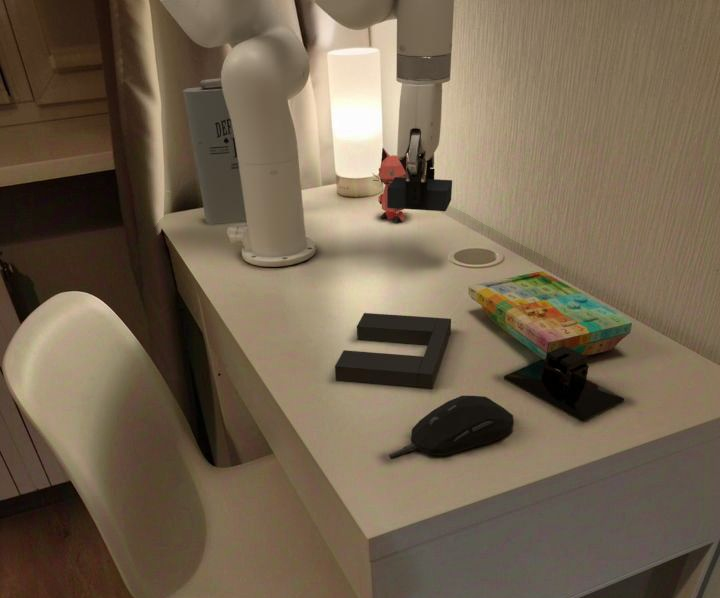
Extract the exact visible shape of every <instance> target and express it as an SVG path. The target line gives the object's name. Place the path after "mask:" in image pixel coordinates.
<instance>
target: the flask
mask: <svg viewBox="0 0 720 598" xmlns="http://www.w3.org/2000/svg"><path fill="white" fill-rule="evenodd" d="M221 73H222V71H220V74H221ZM213 84H214V85H213ZM215 84H222V83H221V77H218V78H211V79H209V78H208V79H202V80H201V81H200V83H199V85H200V87H199V86H198V87H188V88H184V89H183V90H182V94H183V99H184V104H185V105H184V106H185V108H186V115H187V122H188V126H189V132H190V138H191V143H192V148H193V149H192V150H193V156H194V160H195V166H196V172H197V178H198V185H199V189H200V195H201V200H202V207H203V212H204V218H205V222H206V224H214V225H215V224H216V225H217V224H228V223H229V224H230V223H239V222H247V220H246V213H245V206H244V199H243V191H242V184H241V177H240V170H239V163H238V158H237V151H236V144H235V138H234V132H233V127H232V123H231V119H230V115H229V111H228V108H227V105H226V102H225V98H224V94H223V90H222V85H216V86H215ZM207 85H213V86H207Z"/></svg>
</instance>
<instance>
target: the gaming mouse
mask: <svg viewBox="0 0 720 598" xmlns="http://www.w3.org/2000/svg"><path fill="white" fill-rule="evenodd" d="M514 423H515V420H514V414H512V413H511V412H509V411H508V410H507V409H506V408H505V407H503V406H502V405H500V404H498V403H497V402H495V401H493V400H492V399H490V398H488V397H487V396H483V395H482V396H481V395H459V396H457V397H455V398H452V399H450V400H448V401H446V402H444V403H443V404H441V405H440V406H438V407H436V408H434V409H433V410H431V411H430V412H429V413H427V414H426V415H425V416H423V417H422V418H421V419H420V420H419V421H418V422H417V423H416V424H415V425H414V427H413V428H412V429H411V433H410V434H411V435H410V442H411V443H410V444H407V445H406V446H403V448H401V449H399V450H397V451H394V452H392V453H390V454H388V457H389V458H390V459H392V458H394V457H397V456H399V455H402V454H403V453H404V454H405V453H409V452H411V451H414V450H415V449H416V448H417V449H418V451H420V452H423V453H426V454H429V455H431V456H446V455H447V456H448V455H451V454H454V453H459V452H462V451H465V450H468V449H471V448H474V447H477V446H482V445H486V444H488V443H492V442H495V441H497V440H500V439H501V438H503V437H504V436H505V435H507V434H509V433H510V432H511V431H512V429H513V427H514Z"/></svg>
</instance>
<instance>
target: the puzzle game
mask: <svg viewBox="0 0 720 598" xmlns="http://www.w3.org/2000/svg"><path fill="white" fill-rule="evenodd" d="M468 295H469V297H470V298H471V299H472V300H473V301H474V302H476V303H477V304H479V305H480V306H481V307H482V309H483V312H484V313H485V315H486V317H488V319H489V320H490V321H491V322H492V323H494V324H495V325H496V326H498V327H499V328H500V329H502V330H503V331H504V332H506V333H507V334H509V335H510V336H511V337H512V338H514V339H515V340H516V341H518V342H519V343H521V344H522V345H524V346H525V347H526V348H527V349H529V350H530V351H531V352H533V353H534V354H535V355H536V356H538V357H539V358H540V359H543V360H544V359H546V354H547V353H548V352H551V351H553V350H555V349H557V348H560V347H562V346H566V347H568V348H570V349H572V350H574V351H576V352H578V353H580V354H582V355H585V356H587V357H588V356H592V355H595V354H600V353H604V352H607V351H611V350H613V349H614V348H615V347H616V346H617V345H618V344H619V343H620V342H622V340H623V339H625V338H626V337H627V336H628V335H630V334H631V331H632V326H633V323H632V322H631V321H630V320H629V318H628V317H626V316H625V315H622V314H620V313H619V312H617V311H615V310H613V309H612V308H610V307H608V306H606V305H604V304H603V303H601V302H599V301H597V300H595V299H594V298H592V297H590V296H588V295H586V294H585V293H582V292H581V291H579V290H578V289H575V288H574V287H572V286H570V285H568V284H566V283H564V282H563V281H561V280H559V279H557V278H556V277H554V276H552V275H549V274H548V273H546V272H545V271H543V270H539V271H536V272H531V273H526V274H521V275H516V276H512V277H511V276H510V277H507V278H502V279H497V280H492V281H487V282H481V283H477V284H472V285H469V286H468Z"/></svg>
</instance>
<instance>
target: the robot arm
mask: <svg viewBox="0 0 720 598" xmlns="http://www.w3.org/2000/svg"><path fill="white" fill-rule="evenodd" d="M311 1H312V2H313V3H314V4H316V5H317V6H318V7H319V9H321V10H322V11H323V12H324V13H325V14H327V15H328V16H329V17H330V18H331V19H332V20H334V21H335V22H336V23H338V24H339V25H340V26H343V27H345V28H346V29H349V30H353V31H362V30H366V29H369V28H371V27H373V26H375V25H377V24H381V23H383V22H387V21H392V20H396V76H395V77H396V78H395V79H396V82H398V83H401V87H400V96H399V109H398V124H397V125H398V126H397V128H398V129H397V146H396V147H397V150H396V156H397V157H398V158H399V159H400V160H402V159H403V158H404V157H405V156H406V154H407V172H406V187H405V207H406V208H409V209H408V210H413V209H425V208H426V207H427V184H428V181H425V180H426V179H435V171H436V170H435V152H436V151H437V150H438V147H439V145H440V138H441V129H442V128H441V126H442V111H443V110H442V108H443V84H444V83H445V84H446V83H448V82H450V81H451V71H452V70H451V68H452V53H453V52H452V50H453V30H454V29H453V28H454V12H455V10H454V9H455V0H311ZM159 2H161V4H162V5H163V6H164V8H165V9H166V10H167V12H168V13H169V14H170V15H171V17H172V18H173V19H174V20H175V22H176V23H177V24H178V25H179V27H180V28H181V29H182V30H183V32H184V33H185V35H186V36H188V38H190V40H191V41H192V42H193V43H194V44H197V45H198V46H200V47H202V48H207V49H210V48H211V49H212V48H213V49H214V48H217V47H221V46H225V45H227V44H228V46H230V48H231V49H230V50H229V52H228V53H227V55H226V56H225V59H224V61H223V63H222V67H221V72H222V73H221V72H220V78H221V83H220V84H221V86H222V90H223V94H224V98H225V102H226V105H227V108H228V111H229V115H230V119H231V123H232V127H233V132H234V138H235V144H236V151H237V158H238V163H239V170H240V177H241V184H242V191H243V199H244V206H245V213H246V220H247V221H246V224H247V225H245V226H244V227H240V226H228V227H227V230H226V234H227V237H228V241H229V242H230V243H242V244H243V245H244V246H243V247H242V249H241V256H242V259H243V260H244V261H245V262H247V263H248V264H250V265H254V266H257V267H265V268H266V267H268V268H276V267H286V266H292V265H297V264H300V263H302V262H303V263H304V262H306V261H308V260H310V259H311V258H313V256H314V255H315V254H316V252H317V243H316V242H315V241H314V240H313V239H312V238H310V237H308V236H306V225H305V224H306V223H305V213H304V201H303V194H302V193H303V192H302V182H301V171H300V161H299V151H298V140H297V133H296V128H295V123H294V120H293V116H292V113H291V110H290V109H291V108H290V106H289V101H290V100H291V99H293V98H294V97H296V96H297V95H299V94H300V93H301V92H302V91H303V89H304V88H305V87H306V85H307V83H308V80H309V78H310V77H309V76H310V72H311V71H310V70H311V66H310V65H311V64H310V60H309V55H308V52H307V49H306V48H305V46H304V43H303V42H302V41H301V39H300V37H299V36H298V35H297V33H296V32H295V30H294V29H293V28H292V26H291V25H290V24H289V22H288V21H287V20H286V18H285V17H284V16H283V15H282V13H281V12H280V11H279V10H278V8H277V7H276V5H275V4H274V3H273V1H272V0H159Z"/></svg>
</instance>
